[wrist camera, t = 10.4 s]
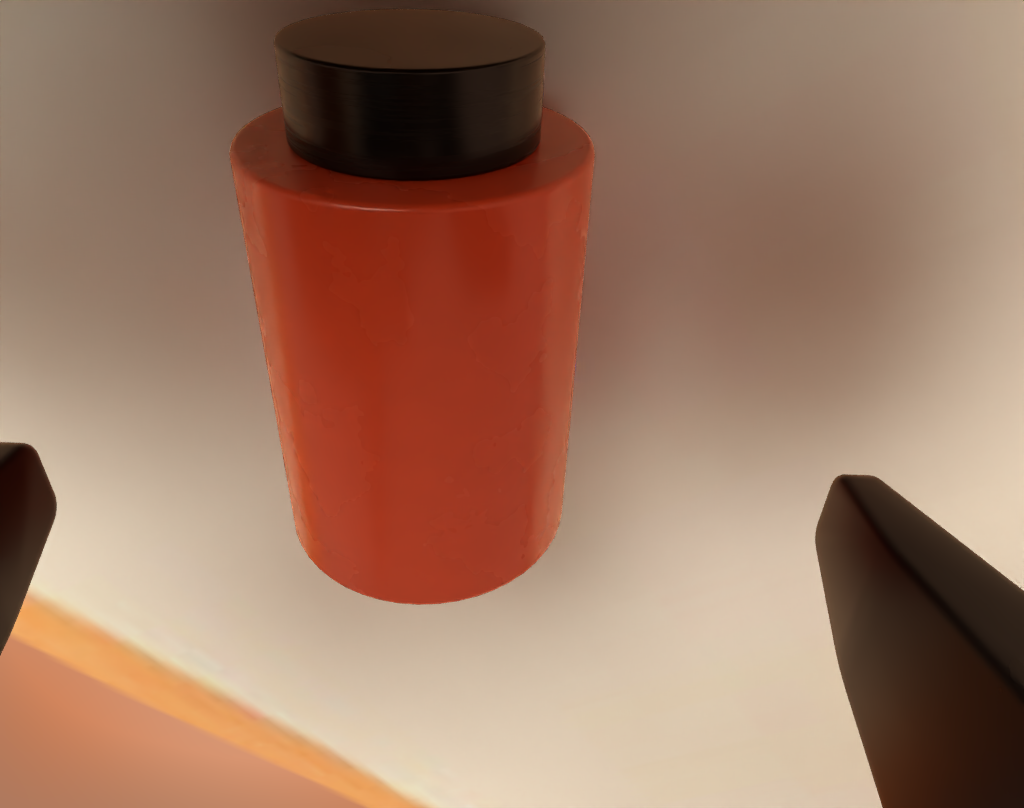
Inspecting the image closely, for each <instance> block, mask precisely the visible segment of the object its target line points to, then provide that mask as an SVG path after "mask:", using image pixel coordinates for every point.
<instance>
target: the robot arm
mask: <svg viewBox="0 0 1024 808" xmlns="http://www.w3.org/2000/svg"><path fill="white" fill-rule="evenodd" d="M56 510H57V503H56V497H55V494H54V491H53V489H52V486H51V484H50V482H49V479H48V477H47V474H46V472H45V469H44V467H43V465H42V462H41V460H40V457H39V455H38V453H37V451H36V450H35V449H34V448H33V447H32V446H31V445H28V444H25V443H8V442H0V655H1V653H2V651H3V649H4V646H5V644H6V642H7V640H8V638H9V636H10V634H11V631H12V629H13V627H14V624H15V622H16V619H17V617H18V614H19V612H20V609H21V607H22V604H23V601H24V599H25V596H26V593H27V591H28V588H29V585H30V583H31V580H32V578H33V575H34V572H35V570H36V567H37V564H38V562H39V559H40V557H41V554H42V551H43V549H44V546H45V543H46V541H47V538H48V535H49V533H50V530H51V528H52V525H53V522H54V519H55V516H56ZM815 543H816V550H817V556H818V561H819V566H820V571H821V577H822V582H823V587H824V592H825V598H826V603H827V608H828V614H829V619H830V624H831V629H832V635H833V640H834V645H835V650H836V655H837V659H838V664H839V668H840V672H841V675H842V679H843V682H844V686H845V689H846V692H847V696H848V699H849V702H850V705H851V708H852V711H853V715H854V718H855V721H856V724H857V727H858V730H859V734H860V737H861V740H862V743H863V746H864V750H865V753H866V756H867V759H868V762H869V765H870V769H871V772H872V775H873V778H874V781H875V784H876V788H877V791H878V794H879V797H880V800H881V803H882V807H883V808H1024V591H1023V590H1022V589H1021V588H1019V587H1018V586H1017V585H1016V584H1014V583H1013V582H1012V581H1010V580H1009V579H1008V578H1006V577H1005V576H1004V575H1003V574H1001V573H1000V572H999V571H997V570H996V569H995V568H994V567H992V566H991V565H990V564H988V563H987V562H986V561H985V560H983V559H982V558H981V557H979V556H978V555H977V554H976V553H974V552H973V551H972V550H970V549H969V548H968V547H967V546H965V545H964V544H963V543H961V542H960V541H959V540H958V539H956V538H955V537H954V536H952V535H951V534H950V533H949V532H947V531H946V530H945V529H943V528H942V527H941V526H940V525H938V524H937V523H936V522H934V521H933V520H932V519H931V518H929V517H928V516H927V515H925V514H924V513H923V512H922V511H920V510H919V509H918V508H916V507H915V506H914V505H913V504H911V503H910V502H909V501H907V500H906V499H905V498H903V497H902V496H901V495H900V494H898V493H897V492H896V491H894V490H893V489H892V488H891V487H889V486H888V485H887V484H885V483H884V482H883V481H882V480H880V479H879V478H877V477H875V476H870V475H847V474H843V475H840V476H838V477H836V478H835V480H834V481H833V483H832V485H831V487H830V490H829V493H828V496H827V499H826V501H825V504H824V507H823V510H822V513H821V515H820V518H819V521H818V524H817V528H816V535H815Z"/></svg>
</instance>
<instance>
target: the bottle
mask: <svg viewBox="0 0 1024 808" xmlns="http://www.w3.org/2000/svg"><path fill="white" fill-rule="evenodd" d="M274 49H275V57H276V64H277V71H278V79H279V86H280V94H281V101H282V107H280V108H277V109H275V110H272V111H269V112H267V113H265V114H263V115H261V116H259V117H257V118H255V119H253V120H252V121H250V122H249V123H247V124H246V125H245V126H244V127H242V128H241V129H240V130H239V131H238V132H237V134H236V135H235V137H234V138H233V140H232V143H231V148H230V152H229V156H230V161H231V167H232V173H233V178H234V184H235V189H236V195H237V201H238V206H239V212H240V218H241V223H242V229H243V234H244V240H245V246H246V251H247V257H248V262H249V268H250V274H251V279H252V285H253V291H254V296H255V302H256V307H257V313H258V319H259V324H260V330H261V336H262V341H263V347H264V352H265V358H266V364H267V369H268V375H269V380H270V386H271V392H272V397H273V403H274V409H275V414H276V420H277V425H278V431H279V437H280V442H281V448H282V454H283V459H284V465H285V470H286V476H287V482H288V487H289V493H290V498H291V504H292V510H293V515H294V521H295V526H296V532H297V535H298V538H299V540H300V543H301V545H302V547H303V548H304V550H305V552H306V553H307V555H308V556H309V558H310V559H311V560H312V561H313V562H314V563H315V564H316V565H317V566H318V568H319V569H320V570H322V571H323V572H324V573H325V574H327V575H328V576H329V577H330V578H332V579H333V580H335V581H336V582H338V583H340V584H341V585H343V586H345V587H346V588H348V589H351V590H353V591H355V592H358V593H360V594H362V595H366V596H369V597H372V598H376V599H379V600H384V601H389V602H395V603H403V604H418V605H421V604H441V603H448V602H455V601H460V600H465V599H469V598H473V597H477V596H479V595H482V594H485V593H488V592H490V591H493V590H495V589H497V588H499V587H501V586H503V585H505V584H507V583H509V582H511V581H512V580H514V579H515V578H517V577H518V576H520V575H521V574H523V573H524V572H525V571H527V570H528V569H529V568H530V567H531V566H532V565H534V564H535V563H536V562H537V560H538V559H539V558H540V557H541V556H542V555H543V554H544V552H545V551H546V550H547V548H548V547H549V545H550V544H551V542H552V540H553V539H554V537H555V535H556V532H557V530H558V527H559V524H560V519H561V514H562V505H563V494H564V483H565V472H566V461H567V450H568V440H569V429H570V418H571V407H572V396H573V386H574V375H575V364H576V353H577V342H578V332H579V321H580V310H581V299H582V288H583V278H584V267H585V256H586V245H587V234H588V224H589V213H590V202H591V191H592V180H593V170H594V159H595V152H594V146H593V143H592V141H591V138H590V136H589V135H588V133H587V132H586V131H585V130H584V129H583V128H582V127H581V126H580V125H578V124H577V123H576V122H574V121H573V120H571V119H569V118H568V117H566V116H564V115H562V114H560V113H558V112H555V111H553V110H551V109H548V108H545V107H542V101H543V82H544V63H545V41H544V38H543V36H542V35H541V34H540V33H538V32H537V31H535V30H534V29H532V28H530V27H527V26H525V25H523V24H520V23H517V22H514V21H510V20H507V19H503V18H498V17H494V16H488V15H482V14H476V13H468V12H459V11H448V10H433V9H374V10H360V11H349V12H341V13H333V14H327V15H322V16H317V17H312V18H308V19H305V20H301V21H298V22H296V23H293V24H291V25H288V26H286V27H284V28H283V29H281V30H280V31H279V32H278V33H277V34H276V35H275V38H274Z"/></svg>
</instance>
